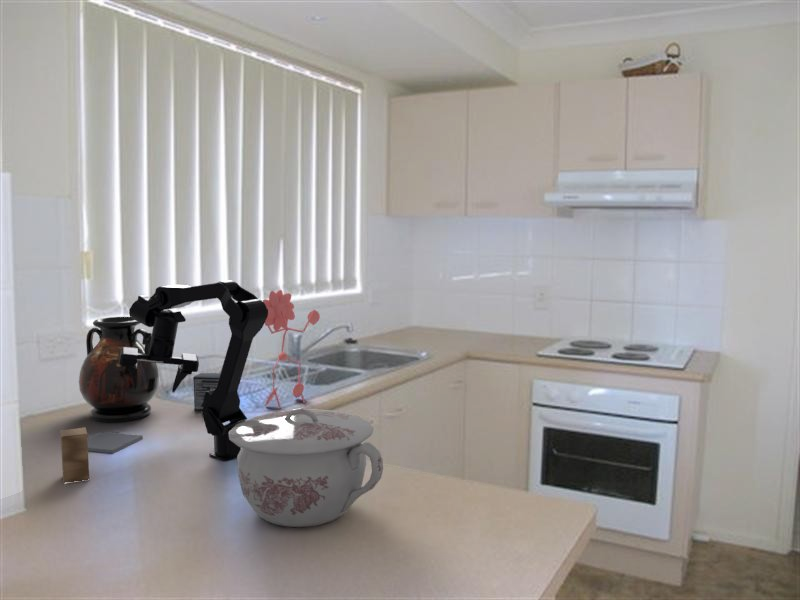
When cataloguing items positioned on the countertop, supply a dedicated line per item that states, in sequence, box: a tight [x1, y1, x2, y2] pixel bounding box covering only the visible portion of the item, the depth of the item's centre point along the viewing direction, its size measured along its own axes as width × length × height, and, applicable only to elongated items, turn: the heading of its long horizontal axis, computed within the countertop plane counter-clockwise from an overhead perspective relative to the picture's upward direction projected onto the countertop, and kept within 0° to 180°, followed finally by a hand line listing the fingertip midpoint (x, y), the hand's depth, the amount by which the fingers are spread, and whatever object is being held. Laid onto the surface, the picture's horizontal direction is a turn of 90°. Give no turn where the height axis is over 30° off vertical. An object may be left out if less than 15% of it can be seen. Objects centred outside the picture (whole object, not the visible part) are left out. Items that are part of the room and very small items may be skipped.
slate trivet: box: [87, 431, 144, 454], centre depth 178 cm, size 12×12×1 cm
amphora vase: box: [78, 316, 160, 423], centre depth 202 cm, size 22×22×28 cm
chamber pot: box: [229, 407, 384, 528], centre depth 136 cm, size 28×28×21 cm
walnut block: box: [59, 426, 90, 484], centre depth 154 cm, size 5×5×10 cm
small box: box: [192, 372, 221, 412], centre depth 211 cm, size 11×6×10 cm, turn 84°
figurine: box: [262, 289, 321, 409], centre depth 218 cm, size 15×26×35 cm, turn 135°
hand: (154, 390), depth 180 cm, fingers open, 9 cm apart
